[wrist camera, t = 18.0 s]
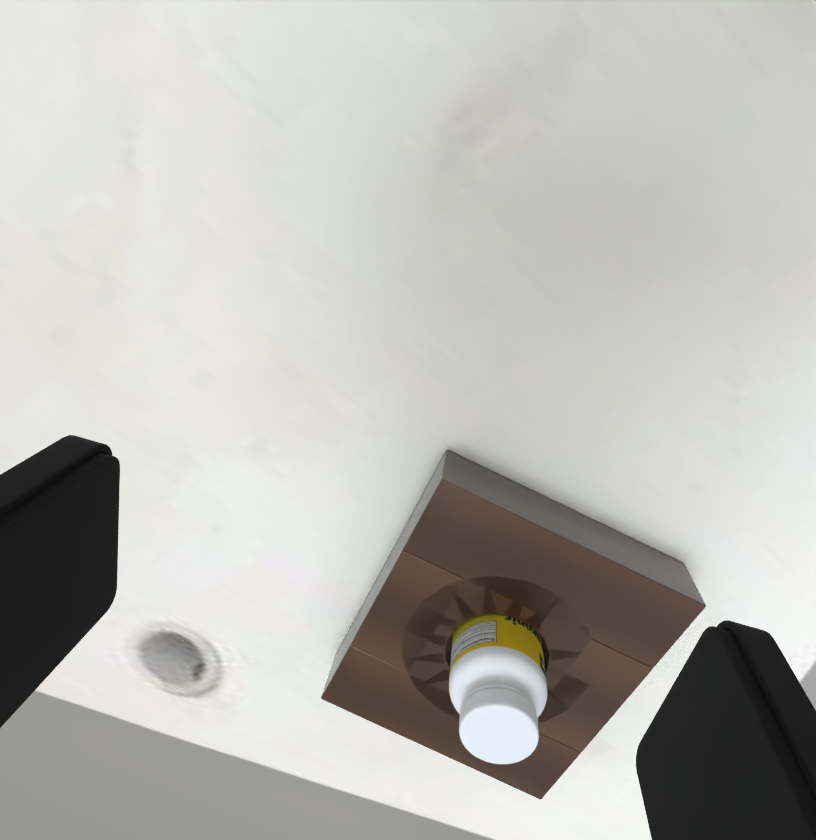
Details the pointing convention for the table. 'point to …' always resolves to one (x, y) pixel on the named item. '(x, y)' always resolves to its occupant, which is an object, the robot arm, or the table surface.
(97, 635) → the table surface
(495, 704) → the supplement bottle
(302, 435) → the table surface
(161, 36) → the table surface
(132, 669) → the table surface
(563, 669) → the holder block
